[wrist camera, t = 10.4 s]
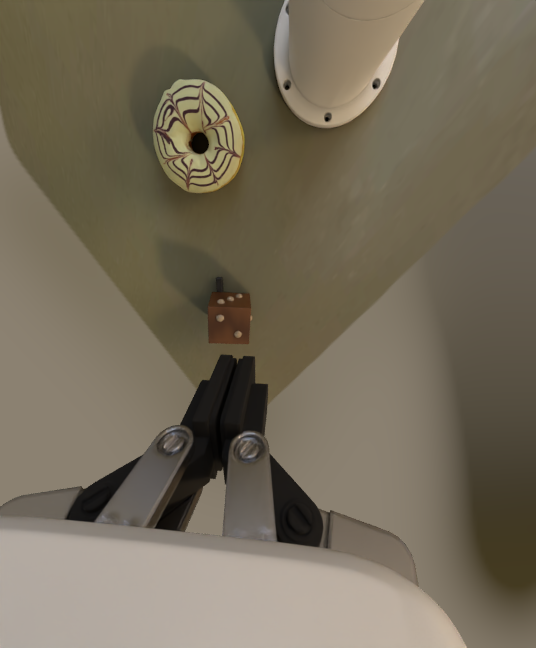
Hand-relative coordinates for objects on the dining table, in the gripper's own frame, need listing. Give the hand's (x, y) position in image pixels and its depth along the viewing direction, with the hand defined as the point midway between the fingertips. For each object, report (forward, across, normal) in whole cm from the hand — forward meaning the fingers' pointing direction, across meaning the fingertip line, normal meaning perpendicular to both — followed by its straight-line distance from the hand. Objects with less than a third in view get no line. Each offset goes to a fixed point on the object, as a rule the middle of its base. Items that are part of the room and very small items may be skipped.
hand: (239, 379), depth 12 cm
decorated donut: (+27, +9, -14) cm, 32 cm away
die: (+23, +9, +8) cm, 26 cm away
